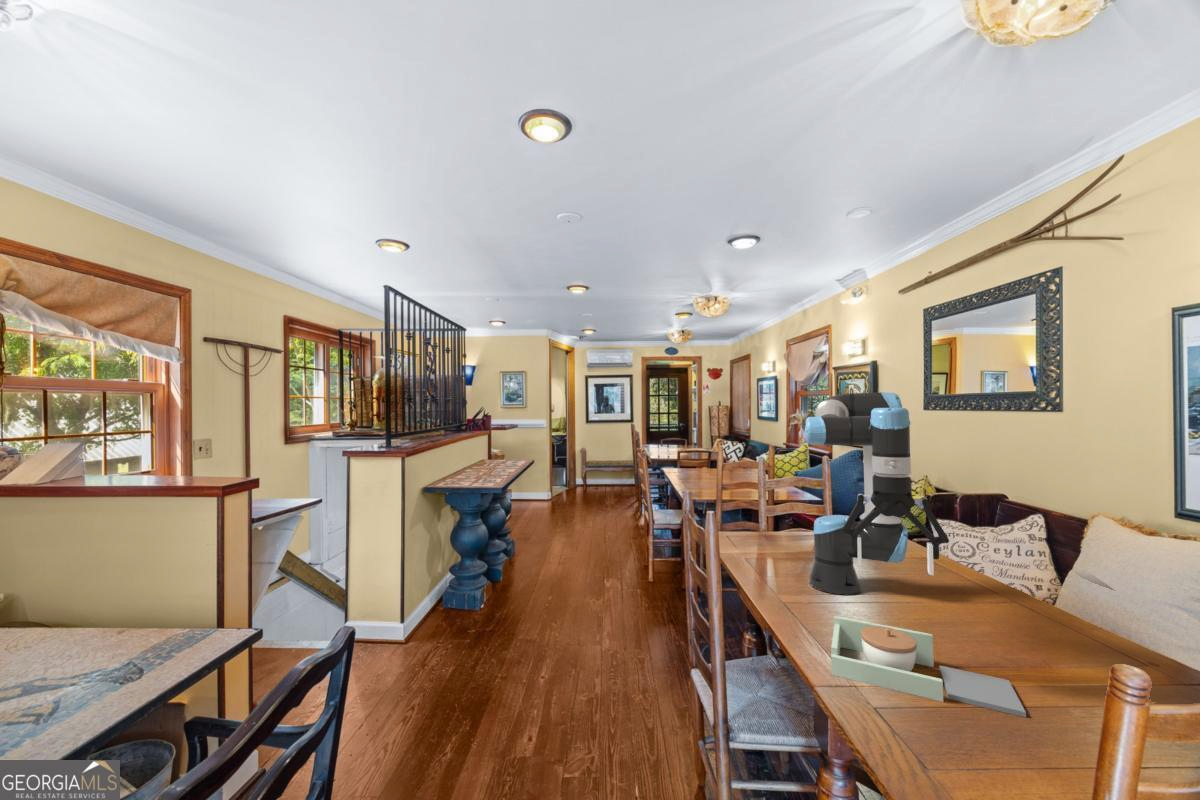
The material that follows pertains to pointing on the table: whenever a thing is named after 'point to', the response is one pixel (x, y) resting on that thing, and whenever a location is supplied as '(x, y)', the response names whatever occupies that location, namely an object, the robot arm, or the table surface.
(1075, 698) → the table surface
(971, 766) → the table surface
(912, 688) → the frame
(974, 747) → the table surface
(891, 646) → the lidded jar
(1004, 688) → the slate tile
